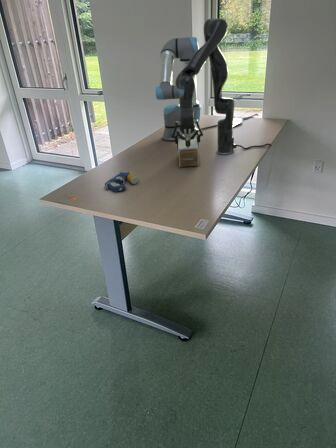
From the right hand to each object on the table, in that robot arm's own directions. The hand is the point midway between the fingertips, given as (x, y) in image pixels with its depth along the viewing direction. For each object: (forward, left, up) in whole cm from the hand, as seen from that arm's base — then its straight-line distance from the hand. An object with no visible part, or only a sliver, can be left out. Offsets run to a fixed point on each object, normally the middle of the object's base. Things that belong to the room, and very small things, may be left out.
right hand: (188, 146), depth 188 cm
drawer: (-3, -8, -12) cm, 15 cm away
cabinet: (-6, -13, -14) cm, 19 cm away
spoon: (-66, -60, -14) cm, 90 cm away
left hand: (-7, -17, -7) cm, 20 cm away
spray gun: (+40, 0, -14) cm, 42 cm away
